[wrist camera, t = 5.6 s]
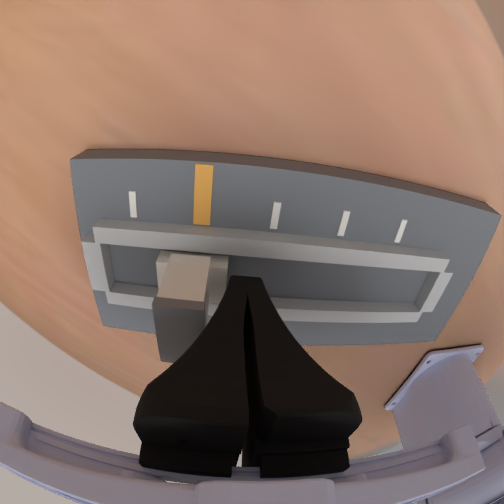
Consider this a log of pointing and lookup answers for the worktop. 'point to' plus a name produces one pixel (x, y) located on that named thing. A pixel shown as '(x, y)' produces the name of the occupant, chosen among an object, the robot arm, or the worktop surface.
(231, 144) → the worktop surface
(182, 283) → the fader tab
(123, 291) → the console
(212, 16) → the worktop surface
